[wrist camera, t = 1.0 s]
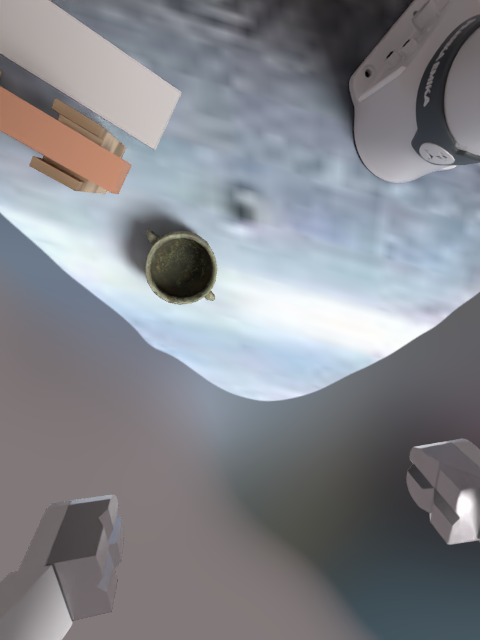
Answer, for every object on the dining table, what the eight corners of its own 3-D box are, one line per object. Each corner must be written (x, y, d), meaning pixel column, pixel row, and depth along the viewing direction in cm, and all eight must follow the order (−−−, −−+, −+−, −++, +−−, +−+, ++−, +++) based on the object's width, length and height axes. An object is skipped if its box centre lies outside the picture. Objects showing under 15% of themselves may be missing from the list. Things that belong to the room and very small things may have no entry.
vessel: (235, 271, 47) (242, 281, 41) (190, 313, 48) (190, 328, 42) (173, 204, 43) (171, 204, 37) (125, 251, 44) (116, 259, 38)
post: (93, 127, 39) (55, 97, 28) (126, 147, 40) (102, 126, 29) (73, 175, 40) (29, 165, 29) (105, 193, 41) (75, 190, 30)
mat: (-45, -64, 32) (-47, -67, 32) (181, 93, 39) (181, 92, 39) (-66, 12, 34) (-69, 10, 33) (155, 150, 41) (154, 149, 40)
